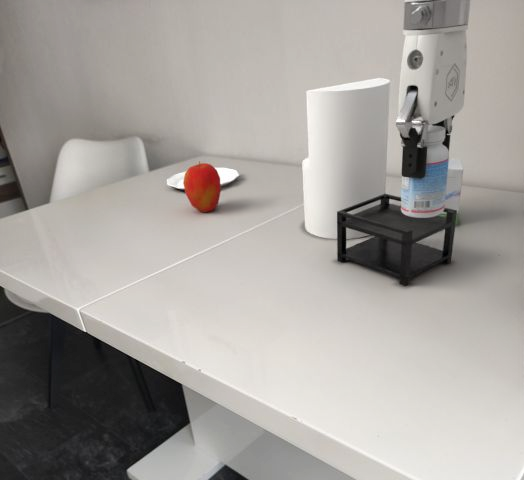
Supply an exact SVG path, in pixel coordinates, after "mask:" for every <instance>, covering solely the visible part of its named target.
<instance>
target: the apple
mask: <svg viewBox="0 0 524 480" xmlns="http://www.w3.org/2000/svg"><path fill="white" fill-rule="evenodd" d="M215 168H216V167H214V166H213V165H212V164H210V163H205V162H203V163H201V161H199V163H198V164H195V165H192V166H190V167H189V168H187V170H186V173H185V176H184V182H183V184H184V188H185V190H184V192H185V195H186V197H187V200H188V202H189V203H190V205H191V207H193V208H194V209H195V210H198V211H199V212H201V213H208V212H212V211H214V209H215V208H216V206H217V205H218V204H219V201H220V197H221V193H222V192H221V191H222V189H221V188H222V186H220V176H219V174H218V172H217V170H216V169H215Z"/></svg>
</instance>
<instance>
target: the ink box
mask: <svg viewBox="0 0 524 480" xmlns="http://www.w3.org/2000/svg"><path fill="white" fill-rule="evenodd" d="M463 177H464V167H463V164H462V161H461V158H449V162H448V174H447V186H446V198H445V208H449V209H453V210H457V214H456V223H455V226H457V225H458V221H459V214H460V213H459V211H460V202H461V196H462V195H461V194H462V185H463ZM438 216H442V217H446V216H447V213H446V212H442V213H440V214H439V215H438Z"/></svg>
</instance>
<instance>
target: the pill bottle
mask: <svg viewBox="0 0 524 480" xmlns="http://www.w3.org/2000/svg"><path fill="white" fill-rule="evenodd" d="M414 128H415V129H416V130H417V133H418V135H419V132H420V128H421V127H414ZM445 130H446V129H445V128H444V127H441V126H429V127H428V132H427V136H426V140H425V145H424V147H427V160H426V174H425V177H424V178H422V179H417V178H409V177H403V176H402V175H401V194H400V197H401V202H400V206H401V211H402V213H403V214H405V215H407V216H410V217H415V218H428V217H434V216H437V215H439V214H440V213H442V212H443V211H444V208H445V198H446V186H447V174H448V162H449V159H450V150H449V151H448V149H447V147H446V146H444V145H442V142H443V141H444V139H445Z"/></svg>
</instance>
